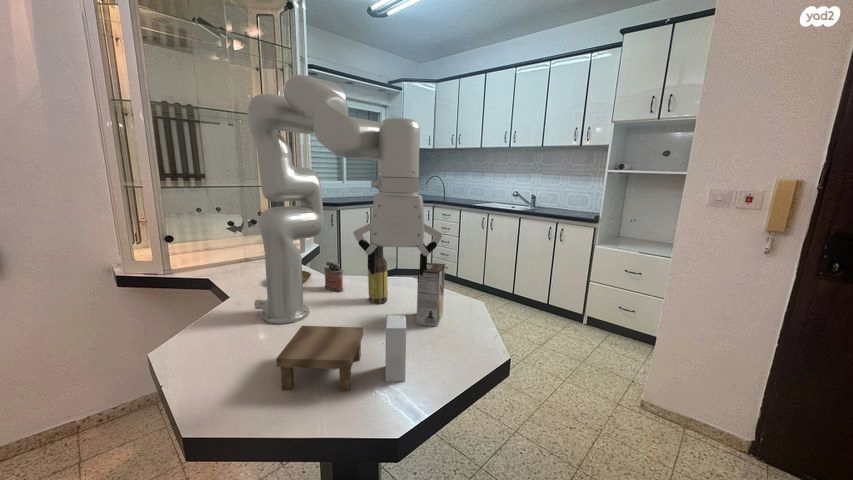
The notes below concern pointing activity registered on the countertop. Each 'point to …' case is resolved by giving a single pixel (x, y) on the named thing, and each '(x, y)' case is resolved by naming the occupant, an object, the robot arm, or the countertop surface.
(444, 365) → the countertop surface
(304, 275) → the plant saucer
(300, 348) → the walnut stool
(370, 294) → the sauce bottle
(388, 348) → the skincare box
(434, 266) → the coffee box
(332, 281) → the lighter
